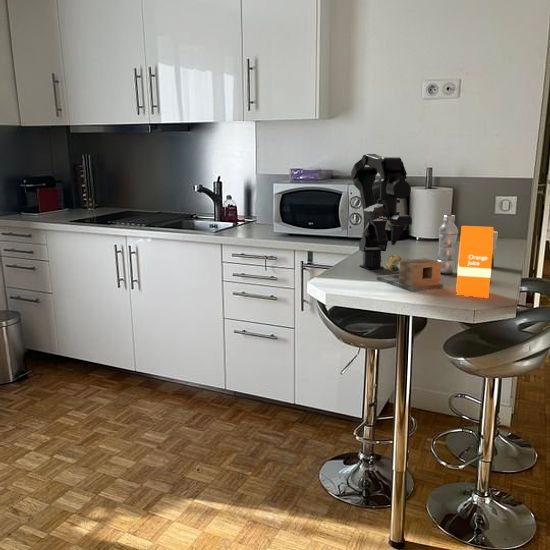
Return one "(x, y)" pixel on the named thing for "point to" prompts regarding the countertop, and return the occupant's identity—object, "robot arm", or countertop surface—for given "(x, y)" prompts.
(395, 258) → the shaft
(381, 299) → the countertop surface
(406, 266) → the bearing block
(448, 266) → the plastic bottle
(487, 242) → the orange juice
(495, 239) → the character mug
